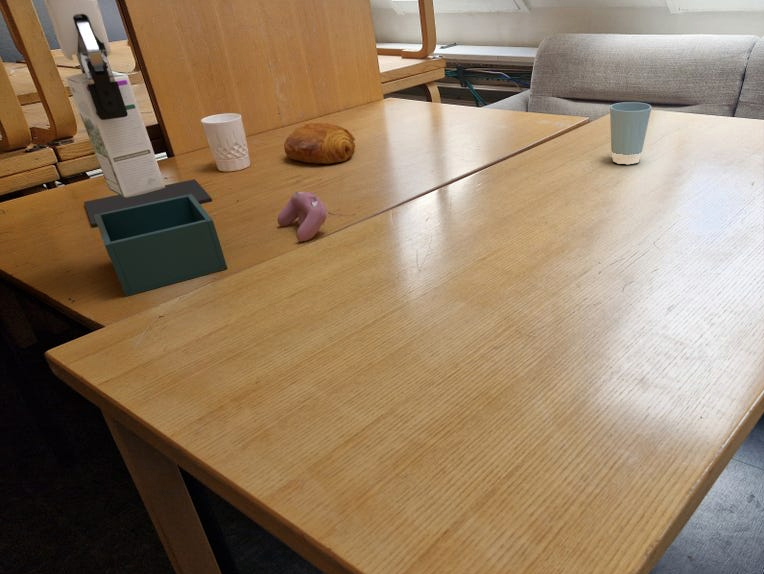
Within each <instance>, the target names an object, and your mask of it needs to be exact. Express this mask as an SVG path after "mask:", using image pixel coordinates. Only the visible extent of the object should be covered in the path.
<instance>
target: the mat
mask: <svg viewBox="0 0 764 574" xmlns="http://www.w3.org/2000/svg"><path fill="white" fill-rule="evenodd" d="M164 185H165V188H162V189H159V190H155V191H152V192H148V193H144V194H140V195H136V196H131V197H123V196H121V195H119V194H116V195H111V196H106V197H101V198H95V199H91V200H87V201H83V204H84V207H85V210H86V214H87V217H88V219H89V222H90V225H91V228H96V227H97V228H98V225H97V222H96V220H95V217H94V215H95V214H100V213H104V212H109V211H114V210H119V209H123V208H128V207H133V206H137V205H142V204H147V203H151V202H156V201H161V200H165V199H170V198H175V197H179V196H184V195H189V194H192V195H193V196H194V197H195V199H196V200H197V201H198V202H199V204H200V205H201V204H206V203H210V202H213V199H212V197H211V196H210V195H209V193H208V192H207V191H206V190H205V189H204V188H203V186H202V185H201V184H200V183H199V182H198V181H197V180H196V179H194V178H193V179H188V180H183V181H179V182H175V183H174V182H173V183H169V184H164Z"/></svg>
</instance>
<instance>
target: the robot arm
mask: <svg viewBox="0 0 764 574" xmlns="http://www.w3.org/2000/svg"><path fill="white" fill-rule="evenodd" d="M42 1H43V4H44V7H45V9H46V12H47V15H48V17H49V20H50V21H49V22H50V23H51V26H52V28H53V32H54V34H55V36H56V40H57V42H58V45H59V47H60V51H61V53H62V55H63V56H64V57H65V58H66V59H67V60H70V61H74V59H73V56H76V58H77V62H78V64H79V65H78V66H79V68H80V70H81V74H82V73H86V76H87V78H88V81H89V84H87V85H88V88H89V91H90V94H91V97H92V100H93V102H94V105H95V108H96V111H97V114H98V116H99V118H100V119H101V120H107V119H114V118H122V117H126V116H127V115H128V113H127V110H126V107H125V104H124V101H123V98H122V95H121V92H120V89H119V86H118V83H117V81H115V79H114V76H113V73H112V71H113V70H112V68H111V65H110V62H109V60H108V57H109V56H110V55H111V54H112V50H111V46H110V41H109V38H108V33H107V30H106V26H105V23H104V19H103V15H102V12H101V9H100V5H99V2H98V0H42Z"/></svg>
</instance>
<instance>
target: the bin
mask: <svg viewBox="0 0 764 574" xmlns="http://www.w3.org/2000/svg"><path fill="white" fill-rule="evenodd" d="M94 217H95V220H96V222H97V225H98V226H97V228H98V231H99V234H100V236H101V240H102V242H103V245H104V247H105V250H106V252H107V254H108V257H109V259H110V262H111V264H112V267H113V269H114V271H115V273H116V276H117V278H118V281H119V283H120V286H121V288H122V290H123V293H124V295H125V297H130V296H133V295H136V294H140V293H144V292H148V291H151V290H155V289H159V288H163V287H166V286H170V285H174V284H177V283H182V282H184V281H189V280H193V279H196V278H199V277H203V276H207V275H211V274H214V273H218V272H220V271H219V270H222V269H225V268H228V265H227V262H226V258H225V256H224V252H223V249H222V245H221V242H220V239H219V236H218V232H217V229H216V226H215V222H214V219H213V218H212V217H211V216H210V214H209V213H208V212H207V211H206V210H205V208H204V207H203V206H202V205H201V204H199V202H198V201H197V200H196V199H195V197H194V196H193V195H192V194H189V195H184V196H179V197H175V198H170V199H165V200H161V201H156V202H151V203H147V204H142V205H137V206H133V207H128V208H123V209H119V210H114V211H109V212H104V213H100V214H95V215H94ZM225 270H227V269H225ZM225 270H224V271H225ZM217 271H218V272H217ZM222 271H223V270H222ZM213 272H214V273H213ZM210 273H211V274H210ZM206 274H207V275H206Z"/></svg>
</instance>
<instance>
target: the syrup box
mask: <svg viewBox="0 0 764 574" xmlns="http://www.w3.org/2000/svg"><path fill="white" fill-rule="evenodd" d="M112 73H113V76H114V79H115V81H117V83H118V86H119V89H120V92H121V95H122V98H123V101H124V104H125V107H126V110H127V113H128V115H127V116H126V117H122V118H114V119H107V120H101V119H100V118H99V116H98V114H97V111H96V108H95V105H94V102H93V100H92V97H91V94H90V91H89V88H88V85H87V84H89V81H88V78H87V76H86V73H82V72H81V73H78V74H74V75H71V76H66V77H65V78H66V82H67V84H68V87H69V89H70V92H71V94H72V97H73V100H74V103H75V105H76V108H77V110H78V113H79V115H80V118H81V120H82V121H81V122H82V123H83V126H84V128H85V131H86V134H87V136H88V138H89V141H90V144H91V146H92V149H93V152H94V154H95V157H96V160H97V161H98V164H99V167H100V170H101V172H102V175H103V177H104V180H105V182H106V185H107V187H108V190H110V191H111V192H113V193H116V195H121V196H123V197H131V196H136V195H140V194H144V193H148V192H152V191H155V190H159V189H162V188H165V185H166V184H165V182H164V179H163V177H162V173H161V170H160V167H159V166H160V165H159V164H158V160H157V157H156V154H155V151H154V148H153V146H152V145H153V144H152V142H151V140H150V137H149V134H148V130H147V127H146V125H145V122H144V119H143V116H142V114H141V110H140V107H139V105H138V102H137V99H136V96H135V93H134V90H133V86H132V84H131V81H130V78H129V76H128V74H126V73H121V72H118V71H115V70H112Z"/></svg>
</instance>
